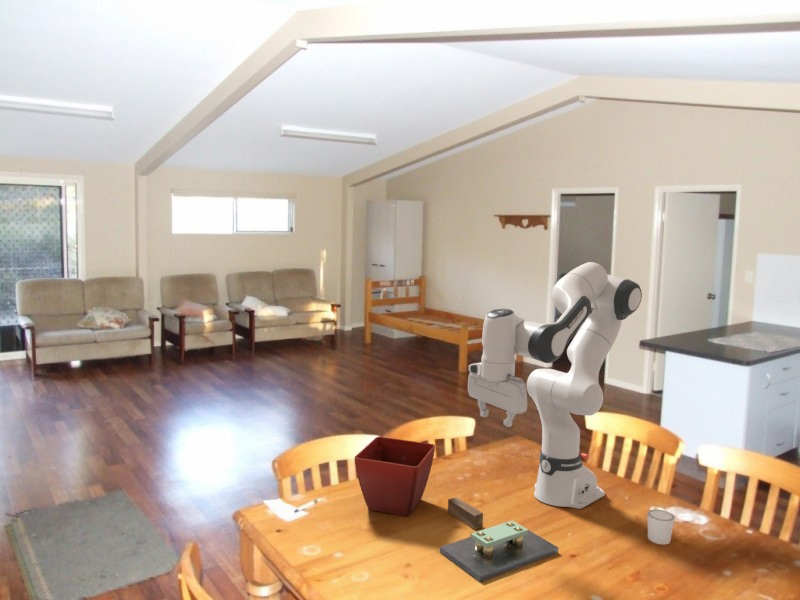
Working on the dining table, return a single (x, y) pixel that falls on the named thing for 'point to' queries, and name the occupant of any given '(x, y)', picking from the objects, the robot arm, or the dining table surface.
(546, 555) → the peg assembly base
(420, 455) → the plant pot
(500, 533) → the board
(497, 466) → the dining table surface
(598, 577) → the dining table surface
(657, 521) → the white cup
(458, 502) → the stand
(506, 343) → the robot arm
